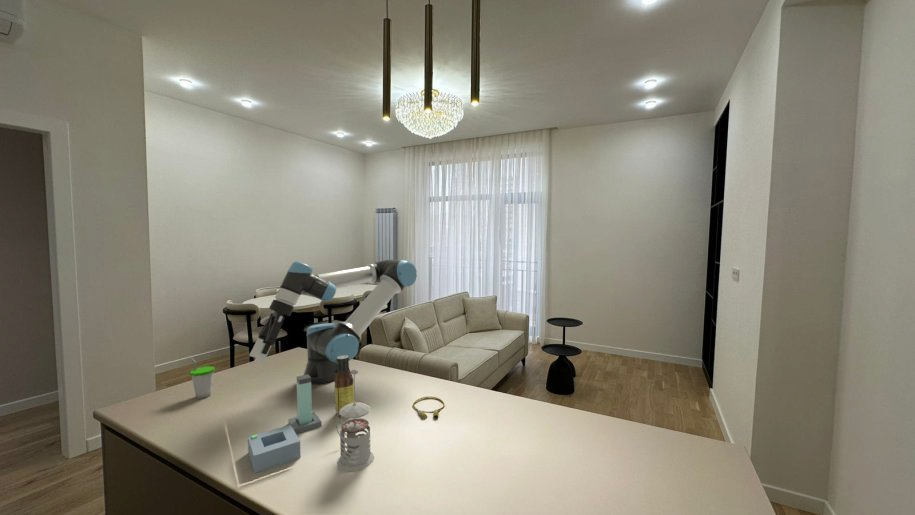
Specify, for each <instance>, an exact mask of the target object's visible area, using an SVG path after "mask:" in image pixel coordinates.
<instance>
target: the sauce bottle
mask: <svg viewBox="0 0 915 515" xmlns="http://www.w3.org/2000/svg"><path fill="white" fill-rule="evenodd" d="M349 363H350V361H349V356H347V355H343V356H339V357H337V366H338V369H337V370H338V371H337V374H336V376H335V380H334V400H335V413H336V414H335V415H336V416H337V415H338V414H339V411H340V409H341V408H343V407H344V406H345V405H348V404H351V403H354V376H353V374H351V369H350V364H349ZM338 418H341V415H340V414H339V416H338Z"/></svg>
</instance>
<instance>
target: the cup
mask: <svg viewBox="0 0 915 515" xmlns="http://www.w3.org/2000/svg"><path fill="white" fill-rule="evenodd" d="M190 359H191V361H193V364H194V369H191V370H190V371H189V375H190V376H191V379H192V384H193V389H194V394H195V398H196V399H198V400H202V399H206V398H210V397H211V395H212V386H213V380H214V372H215V371H216V368H215V366H211V365H209V366H200V367H197V361H196V360H195V359H194V358H193V357H190Z"/></svg>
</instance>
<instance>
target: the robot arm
mask: <svg viewBox="0 0 915 515" xmlns="http://www.w3.org/2000/svg"><path fill="white" fill-rule="evenodd" d="M417 277H418V275H417V268H416V266H415V264H414V263H413V262H411V261H409V260H406V259H400V260H399V259H385V260H380V261H375V262H371V263H367V264H366V265H365V266H360V267H354V268H350V269H343V270H336V271H331V272H324V273H318V274H314V273H313V268H312V266H310V265H308V264H306V263H303V262H301V261H293V262H292V263H291V265H290V267H289V269H288V270H287V272H286V274H285V276H284V278H283V280H282V282H281V285H280V287H279V288H278V289H276V290H275V292H276V294H275V296H274V298H275V299H272V301H271V304H270V305H269V307H268V308H269V310H271V311H273V312H271V313H269V317H268V319H267V320H266V322H265V324H264V325H263V327H262V328H261V330H260V331H259V333H258V338H257V339H256V341H255V344H254V345H253V348H252V349H251V351H250V353H249V357H252V358H254V361H253V363H256V364H259V365H262V366H263V365H264V362H265V360H266V359H267V356H268V354H269V353H270V351H271V348H272V346H273V345H275V344H276V341H277V338H278V336H279V333H280V330H281V328H282V325H283V323H284V321H285V317H284V315H285V316H288V317H290V316H291V315H292V313H293V311H294V309H295V308H294V306H297V303H298V301H299V299H300V297H301V295H302V296H303V295H304V296H307V297H311V298H316V299H318V300H320V301H323V302H325V303H327V302H330V301H332V299H333V298H334V297H335V295H336V292H337V289H341V288H346V287H350V286H351V287H352V286H357V285H362V284H366V283H368V284H377V285H376V286H375V287H374V288H373V289H372V290H371V292H369V294H368V295H367V296H366V297H365V299H363V301H361V303H360V304H359V305H358V307H356V309H355V310H354V311H353V312H352V313H351V315H350V316H349V317H348V318H347V319H346V320H345V321H340V322H338V323H337V325H336V323H334V322H333V323H331V322H329V323H320V324H313V325H310V326H309V327H308V328H307V329H306V348H307V352H306V353H307V362H306V365H305V369H304V372H303V375H307V374H308V375H309V376H310V377H311V385H312V384H314V385H315V384H316V385H317V384H318V385H319V384H326V383H330V382H331V383H332V382H333V381H334V382H335V376H336V374H337V371H338V370H337V369H338V366H337V357H339V356H343V355H347V356H349V362H350V361H351V360H353V359H354V358H355V356H357V354H358V352H359V347H360V342H361V341H362V334H363V333H364V332H365V330H367V328H368V327H369V326H370V325H371V323H372V322H373V321H374V320H375V319H376V317H377V316H379V313H380V312H381V311H382V310H383V309H384V308H385V307H386V305H387V304H388V303H389V302H390V301H391V299H392V298H393V297H394V296H395V295H396V294H401V292H402V291H403V290H404V289H405V288H407V287H411V286H413V285H414V284H415V282H416V280H417Z"/></svg>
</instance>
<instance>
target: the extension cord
mask: <svg viewBox="0 0 915 515" xmlns="http://www.w3.org/2000/svg"><path fill="white" fill-rule="evenodd" d="M429 399H430V400H436V401H439V402H441V404H442V405H443V406H441V407H440V408H438V409H434V410H433V411H424V410H420V409H418V408H417V407H416V406H415V405H416V404H417V403H418V402H421V401H423V400H429ZM444 408H445V402H444V400H442V399H441V398H439V397H437V396H423V397H420V398H418V399H416V400H415V401H414V402H412V409H413V410H415V411H417V413H418V415H419V418H421V419H422V420H423V419H427V418H428V415H427V414H429V413H430V414H433V415H432V416H433V419H434V420H435V419H437V420H438V418H439V412H441V411H442V409H444ZM426 413H427V414H426Z"/></svg>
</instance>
